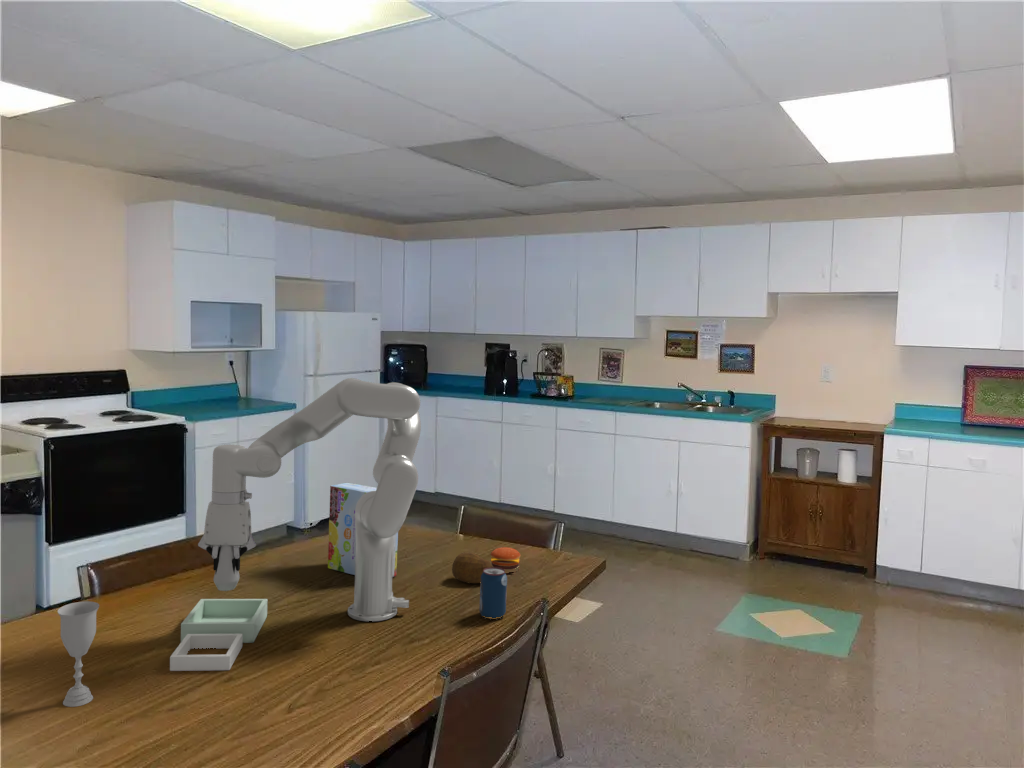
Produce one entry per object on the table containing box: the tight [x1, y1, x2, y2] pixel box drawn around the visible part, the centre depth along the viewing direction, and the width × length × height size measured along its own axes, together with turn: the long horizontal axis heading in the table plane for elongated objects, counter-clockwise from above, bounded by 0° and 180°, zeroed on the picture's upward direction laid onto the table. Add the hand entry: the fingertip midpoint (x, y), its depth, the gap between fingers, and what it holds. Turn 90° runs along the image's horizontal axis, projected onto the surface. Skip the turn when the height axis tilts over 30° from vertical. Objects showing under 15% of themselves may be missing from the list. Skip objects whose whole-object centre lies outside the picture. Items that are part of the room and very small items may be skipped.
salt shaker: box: [213, 542, 240, 592], centre depth 178 cm, size 6×6×13 cm
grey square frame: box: [169, 634, 244, 672], centre depth 163 cm, size 12×12×3 cm
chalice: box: [57, 600, 100, 708], centre depth 143 cm, size 7×7×18 cm
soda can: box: [478, 567, 508, 618], centre depth 195 cm, size 7×7×12 cm
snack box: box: [327, 482, 399, 578], centre depth 225 cm, size 22×9×26 cm, turn 58°
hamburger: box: [489, 546, 522, 570], centre depth 235 cm, size 9×10×7 cm
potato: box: [451, 552, 492, 584], centre depth 220 cm, size 8×12×9 cm
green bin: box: [180, 598, 268, 644], centre depth 179 cm, size 16×16×4 cm
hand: (226, 572), depth 178 cm, fingers closed on salt shaker, 3 cm apart
